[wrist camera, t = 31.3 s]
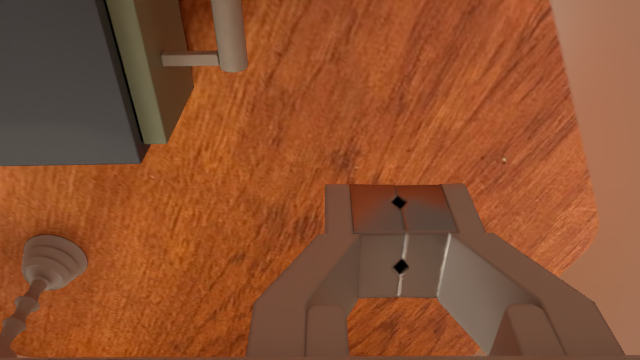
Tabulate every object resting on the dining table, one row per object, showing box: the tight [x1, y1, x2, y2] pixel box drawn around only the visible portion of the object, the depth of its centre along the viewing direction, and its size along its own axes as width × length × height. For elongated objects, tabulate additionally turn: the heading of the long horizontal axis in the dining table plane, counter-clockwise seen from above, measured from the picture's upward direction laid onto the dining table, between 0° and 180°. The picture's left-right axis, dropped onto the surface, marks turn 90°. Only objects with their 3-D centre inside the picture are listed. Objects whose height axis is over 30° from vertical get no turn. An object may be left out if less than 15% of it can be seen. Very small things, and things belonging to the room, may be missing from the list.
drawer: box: [106, 0, 248, 144], centre depth 23 cm, size 17×11×7 cm
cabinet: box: [0, 0, 151, 166], centre depth 23 cm, size 14×13×9 cm
